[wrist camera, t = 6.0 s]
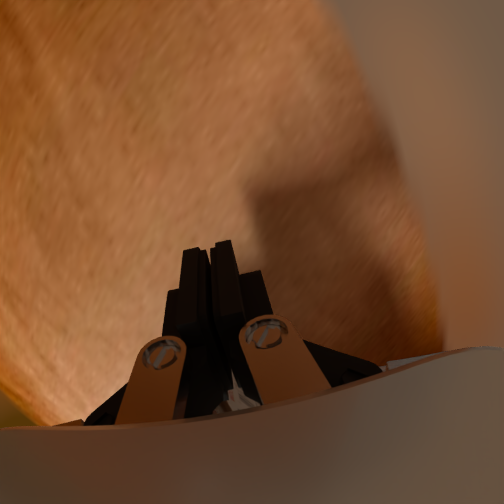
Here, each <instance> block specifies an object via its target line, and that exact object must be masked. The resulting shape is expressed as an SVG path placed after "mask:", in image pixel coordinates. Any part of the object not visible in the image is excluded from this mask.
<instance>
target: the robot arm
mask: <svg viewBox="0 0 504 504" xmlns="http://www.w3.org/2000/svg"><path fill="white" fill-rule="evenodd" d="M210 259H211V265H210V262H209V258H208V255H207V252H206V250H201V251H200V248H199V247H196V248H192V249H187V250H183V257H182V265H181V274H180V283H179V288H178V289H174V290H169V291H168V294H167V301H166V308H165V315H164V323H163V331H162V337H158V338H156V339H153V340H151V341H150V342H148V343H147V344H146V345H145V346H144V347H143V348H142V349H141V350H140V352H139V354H138V356H137V359H136V361H135V364H134V367H133V370H132V373H131V376H130V379H129V382H128V383H127V384H125V385H124V386H123V387H122V388H121V389H120V390H118V391H117V392H116V393H115V394H114V395H112V396H111V397H110V398H109V399H108V400H107V401H105V402H104V403H103V404H102V405H101V406H99V407H98V408H97V409H96V410H95V411H93V412H92V413H91V414H90V415H89V416H88V418H87V419H86V421H85V422H84V421H83V420H82V419H79V420H75V421H71V422H67V423H63V424H59V425H54V426H19V427H7V428H2V429H0V504H504V348H501V347H489V346H483V347H470V348H462V349H457V350H452V351H445V352H440V353H435V354H429V355H424V356H419V357H413V358H407V359H401V360H394V361H388V362H387V364H386V366H380V367H378V366H377V365H376V364H374V363H371V362H369V361H366V360H363V359H360V358H357V357H354V356H350V355H347V354H344V353H341V352H338V351H335V350H332V349H329V348H326V347H323V346H320V345H317V344H314V343H311V342H308V341H305V340H302V339H301V337H300V335H299V334H298V332H297V331H296V329H295V327H294V326H293V324H292V323H291V322H290V321H289V320H288V319H286V318H284V317H282V316H279V315H273V311H272V308H271V304H270V301H269V298H268V294H267V291H266V287H265V284H264V281H263V277H262V274H261V271H260V270H258V271H254V272H250V273H245V274H241V275H239V271H238V267H237V263H236V259H235V255H234V251H233V247H232V243H231V240H226V241H222V242H217V243H215V247H214V248H210ZM231 369H232V370H231ZM232 372H233V375H234V377H235V380H236V383H237V385H238V388H242V390H243V392H244V395H245V396H246V397H248V398H250V399H252V400H254V401H256V402H258V403H259V405H260V406H256V407H252V408H247V409H241V410H236V411H231V412H225V413H219V414H218V411H217V409H216V407H217V406H218V405H219V404H220V403H221V402H222V401H227V400H229V395H228V390H232V389H234V387H233V378H232Z"/></svg>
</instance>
